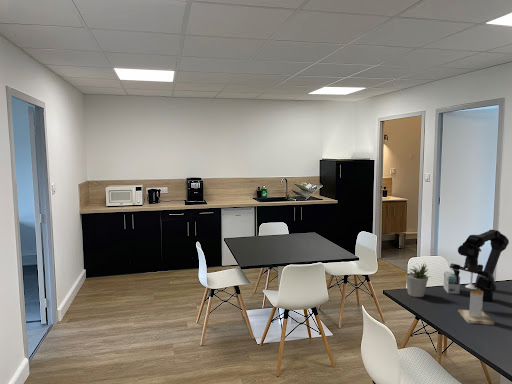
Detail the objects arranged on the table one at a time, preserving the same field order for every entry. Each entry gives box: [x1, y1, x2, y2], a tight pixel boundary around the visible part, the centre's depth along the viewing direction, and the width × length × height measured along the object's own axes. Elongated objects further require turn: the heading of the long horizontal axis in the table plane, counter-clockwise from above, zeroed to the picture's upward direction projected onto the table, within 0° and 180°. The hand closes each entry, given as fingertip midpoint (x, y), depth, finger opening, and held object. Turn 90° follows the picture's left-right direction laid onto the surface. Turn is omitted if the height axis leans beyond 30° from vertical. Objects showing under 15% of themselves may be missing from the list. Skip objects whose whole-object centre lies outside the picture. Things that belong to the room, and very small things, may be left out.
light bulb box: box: [442, 270, 461, 295], centre depth 240 cm, size 11×7×11 cm, turn 168°
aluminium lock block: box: [468, 289, 484, 319], centre depth 198 cm, size 5×5×13 cm
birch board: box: [457, 309, 495, 326], centre depth 199 cm, size 12×14×2 cm
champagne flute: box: [465, 272, 478, 290], centre depth 247 cm, size 7×7×24 cm
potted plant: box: [405, 261, 431, 298], centre depth 231 cm, size 13×14×20 cm
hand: (466, 285), depth 215 cm, fingers open, 9 cm apart
